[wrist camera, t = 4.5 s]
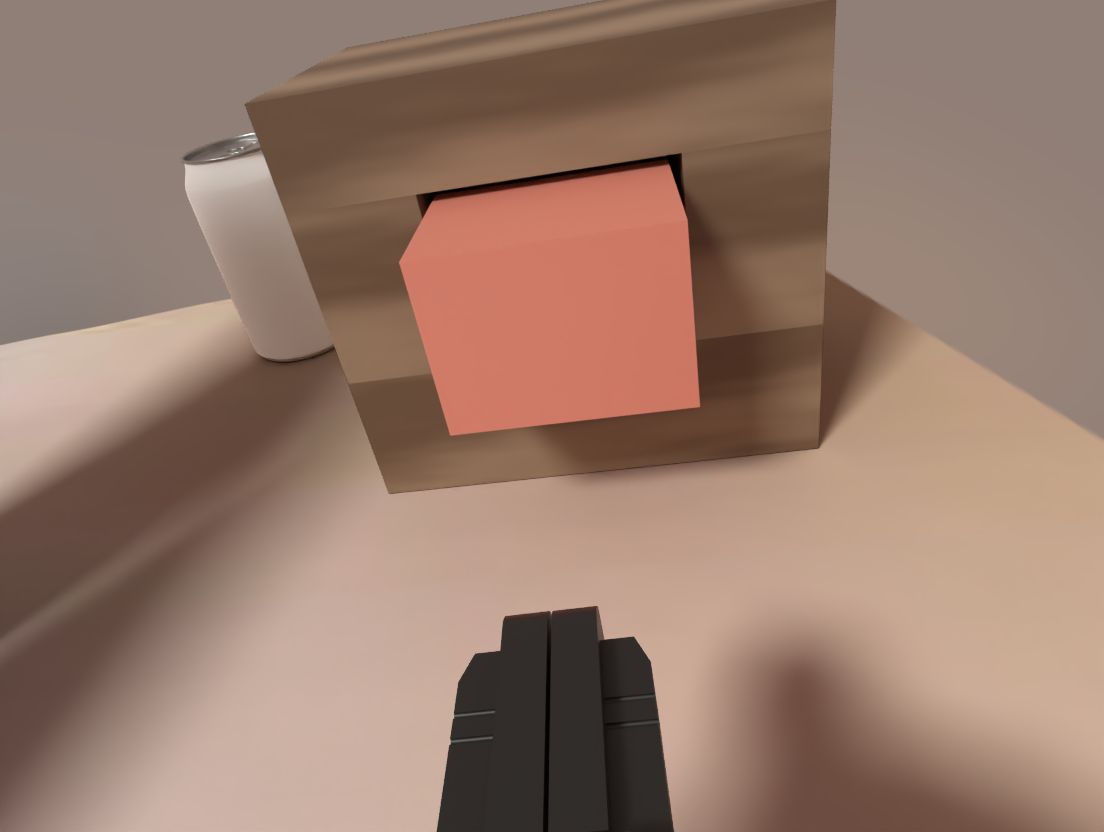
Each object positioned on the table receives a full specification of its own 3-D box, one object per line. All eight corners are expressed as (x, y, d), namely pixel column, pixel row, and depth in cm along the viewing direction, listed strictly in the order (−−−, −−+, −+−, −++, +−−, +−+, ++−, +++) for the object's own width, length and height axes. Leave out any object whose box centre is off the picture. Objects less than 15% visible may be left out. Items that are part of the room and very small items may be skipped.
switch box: (818, 448, 30) (836, -2, 21) (388, 493, 32) (244, 103, 23) (760, 315, 40) (756, -28, 31) (435, 356, 42) (346, 47, 33)
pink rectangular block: (699, 407, 23) (687, 220, 20) (450, 435, 24) (398, 262, 21) (680, 319, 28) (667, 159, 25) (473, 346, 29) (435, 195, 26)
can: (361, 307, 50) (299, 121, 43) (355, 350, 45) (282, 146, 38) (265, 328, 50) (188, 144, 43) (248, 374, 44) (156, 172, 38)
